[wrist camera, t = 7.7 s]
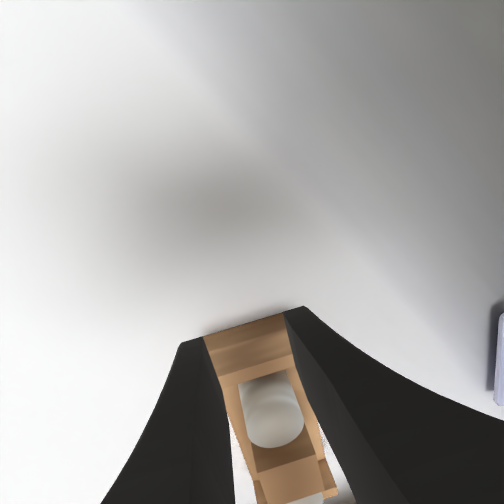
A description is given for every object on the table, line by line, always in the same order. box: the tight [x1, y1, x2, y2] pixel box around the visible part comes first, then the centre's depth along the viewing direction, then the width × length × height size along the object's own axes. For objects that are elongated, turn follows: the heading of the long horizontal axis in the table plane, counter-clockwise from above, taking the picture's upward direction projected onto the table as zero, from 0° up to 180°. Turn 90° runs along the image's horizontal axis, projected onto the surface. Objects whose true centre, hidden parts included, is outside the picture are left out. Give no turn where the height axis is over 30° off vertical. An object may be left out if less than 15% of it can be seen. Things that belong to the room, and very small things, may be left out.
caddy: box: [203, 313, 338, 504], centre depth 22 cm, size 5×12×6 cm, turn 13°
